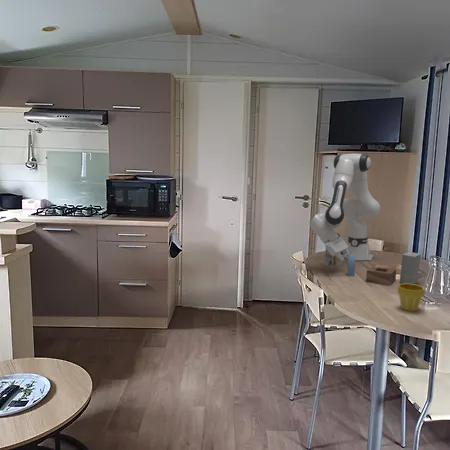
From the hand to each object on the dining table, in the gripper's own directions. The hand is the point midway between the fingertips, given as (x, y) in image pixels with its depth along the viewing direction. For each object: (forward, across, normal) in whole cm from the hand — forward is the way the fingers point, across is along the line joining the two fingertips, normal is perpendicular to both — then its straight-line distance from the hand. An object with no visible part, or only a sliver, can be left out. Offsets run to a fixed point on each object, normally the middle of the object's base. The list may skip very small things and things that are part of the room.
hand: (346, 258), depth 241 cm
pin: (+8, 0, +4) cm, 10 cm away
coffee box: (-3, +16, +16) cm, 23 cm away
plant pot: (+36, -39, -23) cm, 58 cm away
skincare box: (+30, +3, -17) cm, 34 cm away
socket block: (+20, -2, -8) cm, 22 cm away
